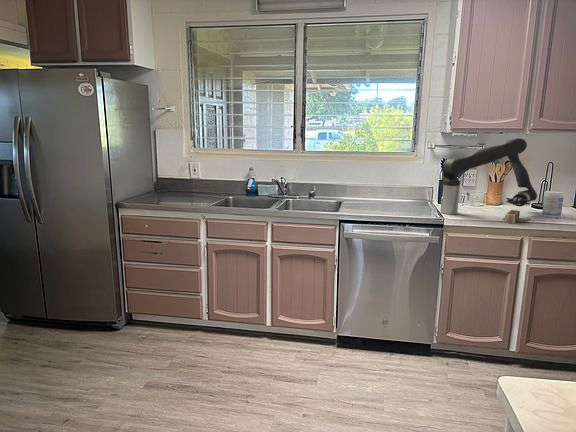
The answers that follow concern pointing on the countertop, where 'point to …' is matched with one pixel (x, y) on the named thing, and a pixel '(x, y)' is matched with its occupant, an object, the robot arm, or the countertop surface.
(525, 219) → the rubber mat
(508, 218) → the walnut post
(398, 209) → the countertop surface
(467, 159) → the robot arm
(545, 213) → the supplement tub
